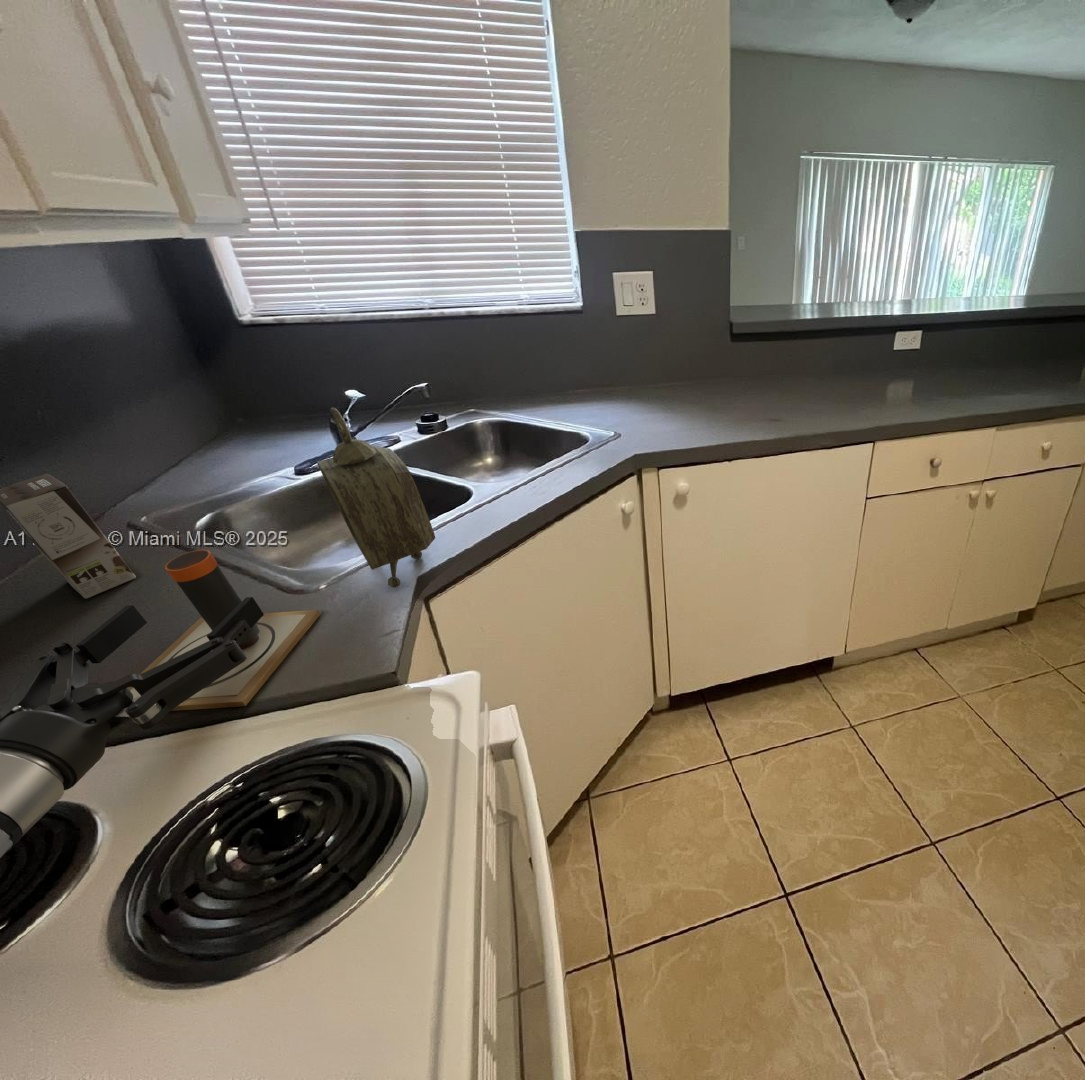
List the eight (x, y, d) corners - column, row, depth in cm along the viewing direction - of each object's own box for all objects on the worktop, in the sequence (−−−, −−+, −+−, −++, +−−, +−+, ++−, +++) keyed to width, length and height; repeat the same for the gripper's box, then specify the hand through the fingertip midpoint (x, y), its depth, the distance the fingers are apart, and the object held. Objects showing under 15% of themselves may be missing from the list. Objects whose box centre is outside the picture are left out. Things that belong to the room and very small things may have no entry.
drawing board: (104, 715, 64) (98, 710, 64) (204, 621, 78) (200, 616, 77) (245, 706, 65) (241, 700, 64) (321, 613, 78) (318, 608, 77)
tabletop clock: (361, 556, 89) (288, 404, 76) (420, 534, 94) (361, 387, 80) (386, 598, 80) (307, 434, 66) (450, 571, 85) (389, 413, 71)
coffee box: (139, 577, 87) (68, 485, 78) (84, 600, 83) (2, 506, 74) (119, 560, 92) (49, 471, 83) (66, 582, 87) (-14, 490, 78)
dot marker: (217, 655, 70) (155, 572, 63) (239, 632, 74) (183, 550, 67) (251, 652, 70) (193, 569, 63) (272, 629, 74) (218, 548, 67)
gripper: (-96, 809, 50) (108, 641, 68) (190, 787, 50) (318, 626, 68) (-174, 756, 46) (65, 592, 63) (138, 734, 46) (289, 577, 64)
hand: (196, 609), depth 66 cm, fingers open, 13 cm apart
